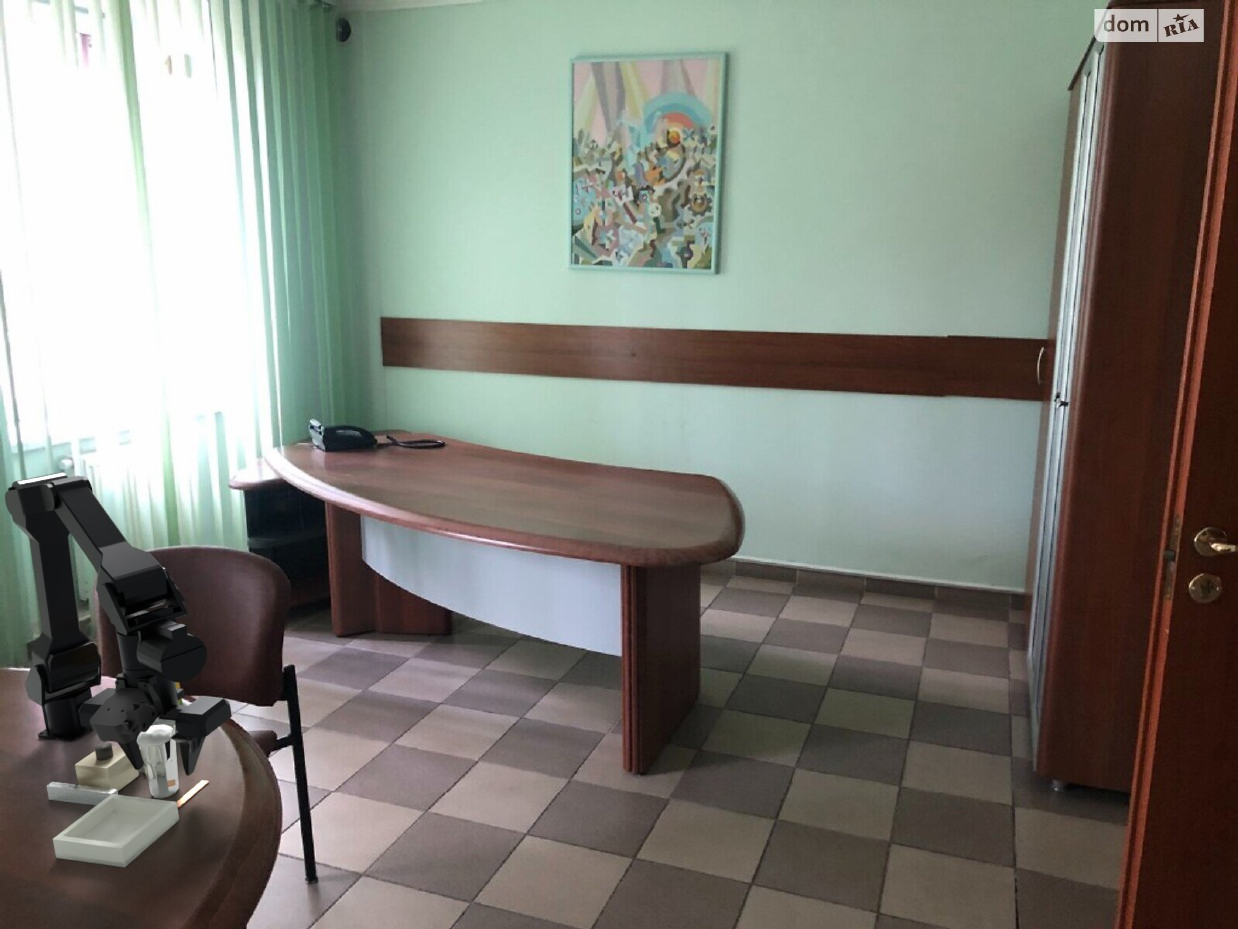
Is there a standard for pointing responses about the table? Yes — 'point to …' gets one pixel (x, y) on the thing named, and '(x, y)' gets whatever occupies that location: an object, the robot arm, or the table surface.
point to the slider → (106, 768)
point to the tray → (116, 830)
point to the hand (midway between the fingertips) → (164, 771)
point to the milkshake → (159, 759)
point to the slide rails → (99, 792)
